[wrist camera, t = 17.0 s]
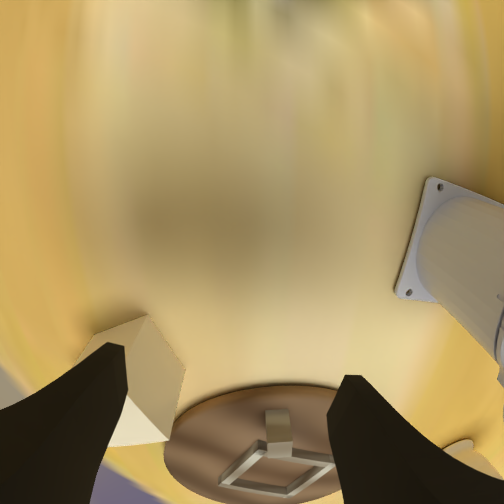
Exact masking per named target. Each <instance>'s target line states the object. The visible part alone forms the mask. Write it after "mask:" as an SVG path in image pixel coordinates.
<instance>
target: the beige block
mask: <svg viewBox="0 0 504 504" xmlns="http://www.w3.org/2000/svg"><path fill="white" fill-rule="evenodd" d="M106 342H110V343H115V344H119V345H123V346H124V347H125V361H126V372H127V382H128V393H127V396H126V400H125V403H124V407H123V410H122V414H121V416H120V419H119V421H118V423H117V426H116V428H115V430H114V433H113V435H112V437H111V440H110V442H109V444H108V447H117V446H128V445H138V444H147V443H155V442H162V441H169V440H170V435H171V430H172V426H173V421H174V417H175V413H176V408H177V404H178V400H179V395H180V391H181V387H182V383H183V378H184V374H185V368H184V367H183V365H182V364H181V363H180V361H179V360H178V358H177V357H176V355H175V354H174V352H173V351H172V350H171V348H170V347H169V345H168V344H167V342H166V341H165V339H164V338H163V336H162V335H161V333H160V332H159V330H158V329H157V327H156V326H155V324H154V322H153V321H152V319H151V318H150V316H149V315H148V314H147V315H145V316H142V317H139V318H137V319H134V320H132V321H129V322H126V323H124V324H121V325H118V326H116V327H113V328H110V329H108V330H105V331H102V332H100V333H97V334H94V336H93V337H92V339H91V340H90V342H89V343H88V344H87V346H86V347H85V349H84V350H83V352H82V353H81V355H80V356H79V358H78V359H77V361H76V362H75V364H74V365H73V367H74V366H76V365H77V364H78V363H80V362H81V361H82V360H84V359H85V358H86V357H88V356H89V355H90V354H91V353H93V352H94V351H95V350H97V349H98V348H99V347H101V346H102V345H103V344H105V343H106ZM73 367H72V368H73ZM72 368H71V369H72Z"/></svg>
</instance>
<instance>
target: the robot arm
mask: <svg viewBox="0 0 504 504" xmlns="http://www.w3.org/2000/svg"><path fill="white" fill-rule="evenodd" d="M439 183H440V189H439V190H438V189H437V186H438V184H439ZM409 289H410V291H409V292H408V293H407V294H406V292H407V290H409ZM394 292H395V295H396V296H397V297H398V298H400V299H409V300H417V301H426V302H435V303H440V304H441V305H442V306H443V307H444V308H445V309H446V310H447V311H448V312H449V313H450V314H451V315H452V316H453V317H454V318H455V319H456V320H457V321H458V322H459V323H460V324H461V325H462V326H463V327H464V328H465V329H466V330H467V331H468V332H469V333H470V334H471V335H472V336H473V337H474V338H475V339H476V341H477V342H478V343H479V344H480V345H481V346H482V347H483V348H484V349H485V350H486V351H487V352H488V353H489V354H490V356H491V357H492V358H493V359H494V360H495V361H496V362H497V363H498V364H499V367H500V371H499V375H498V378H497V380H498V381H499V383H500V384H501V385H502V386H503V387H504V205H503V204H501V203H499V202H497V201H494V200H492V199H490V198H488V197H485V196H483V195H480V194H478V193H476V192H473V191H471V190H468V189H466V188H463V187H460V186H458V185H455V184H453V183H450V182H447V181H444V180H442V179H439V178H436V177H428V179H427V180H426V182H425V186H424V191H423V195H422V199H421V203H420V207H419V211H418V215H417V219H416V223H415V226H414V230H413V233H412V237H411V240H410V244H409V247H408V250H407V254H406V257H405V260H404V263H403V266H402V269H401V272H400V275H399V278H398V281H397V284H396V287H395V291H394ZM127 393H128V382H127V372H126V361H125V347H124V346H123V345H119V344H115V343H110V342H106V343H105V344H103V345H102V346H101V347H99V348H98V349H97V350H95V351H94V352H93V353H91V354H90V355H89V356H88V357H86V358H85V359H84V360H82V361H81V362H80V363H78V364H77V365H76V366H74V367H73V368H72V369H70V370H69V371H67V372H66V373H65V374H63V375H62V376H61V377H59V378H58V379H56V380H55V381H53V382H52V383H50V384H48V385H47V386H45V387H44V388H42V389H41V390H39V391H38V392H36V393H34V394H32V395H31V396H29V397H27V398H25V399H23V400H21V401H19V402H17V403H15V404H13V405H11V406H9V407H6V408H4V409H2V410H0V504H89V503H90V498H91V494H92V490H93V486H94V482H95V478H96V475H97V472H98V469H99V466H100V463H101V461H102V459H103V456H104V454H105V451H106V449H107V447H108V444H109V442H110V440H111V437H112V435H113V433H114V430H115V428H116V426H117V423H118V421H119V419H120V416H121V414H122V410H123V407H124V403H125V400H126V396H127ZM326 417H327V428H328V436H329V442H330V446H331V450H332V454H333V458H334V462H335V466H336V470H337V473H338V477H339V481H340V485H341V489H342V494H343V499H344V504H504V480H501V479H498V478H495V477H492V476H489V475H487V474H485V473H482V472H480V471H478V470H476V469H474V468H472V467H470V466H468V465H466V464H464V463H462V462H461V461H459V460H457V459H455V458H454V457H452V456H451V455H449V454H447V453H446V452H444V451H443V450H442V449H440V448H439V447H438V446H436V445H435V444H433V443H432V442H431V441H429V440H428V439H427V438H426V437H424V436H423V435H422V434H421V433H420V432H419V431H417V430H416V429H415V428H414V427H413V426H412V425H411V424H410V423H409V422H407V421H406V420H405V419H404V418H403V417H402V416H401V415H400V414H399V413H398V412H397V411H396V410H395V409H394V408H393V407H392V406H391V405H390V404H389V403H388V402H387V401H386V400H385V399H384V398H383V397H382V396H381V395H380V394H379V393H378V391H377V390H376V389H375V388H374V387H373V386H372V385H371V384H370V383H369V382H368V381H367V380H366V379H365V378H364V377H362V376H361V375H345V376H344V378H343V381H342V383H341V385H340V387H339V389H338V391H337V393H336V396H335V398H334V400H333V402H332V404H331V406H330V408H329V410H328V412H327V414H326ZM503 420H504V406H503Z"/></svg>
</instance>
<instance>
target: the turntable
mask: <svg viewBox="0 0 504 504" xmlns="http://www.w3.org/2000/svg"><path fill="white" fill-rule="evenodd" d="M336 393H337V391H335V390H331V389H327V388H320V387H312V386H294V385H292V386H270V387H260V388H253V389H247V390H241V391H237V392H233V393H229V394H225V395H221V396H219V397H216V398H213V399H210V400H207V401H205V402H203V403H201V404H199V405H197V406H195V407H193V408H192V409H190V410H188V411H187V412H185V413H184V414H183V415H182V416H180V417H179V418H178V419H177V420H176V421H175V423H174V424H173V426H172V430H171V435H170V440H169V441H166V444H165V449H164V462H165V465H166V467H167V469H168V471H169V472H170V474H171V475H172V476H173V477H174V478H175V479H176V480H177V481H178V482H179V483H180V484H182V485H183V486H184V487H186V488H187V489H189V490H191V491H193V492H194V493H196V494H198V495H201V496H203V497H206V498H208V499H211V500H215V501H218V502H222V503H226V504H299V503H304V502H308V501H312V500H315V499H319V498H321V497H324V496H327V495H330V494H332V493H334V492H336V491H339V490H341V485H340V481H339V477H338V473H337V470H336V466H335V462H334V458H333V454H332V450H331V446H330V442H329V436H328V428H327V417H326V414H327V412H328V410H329V408H330V406H331V404H332V402H333V400H334V398H335V396H336Z"/></svg>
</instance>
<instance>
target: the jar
mask: <svg viewBox="0 0 504 504" xmlns="http://www.w3.org/2000/svg"><path fill="white" fill-rule="evenodd" d="M443 451H444V452H446V453H447V454H449V455H451V456H452V457H454V458H455V459H457V460H459V461H461V462H462V463H464V464H466V465H468V466H470V467H472V468H474V469H476V470H478V471H480V472H482V473H485V474H487V475H489V476H492V477H495V478H498V479H501V480H503V478H502V476H501V475H500V474H499V472H498V471H497V470H496V469H495V468H494V467H493V466H492V465H491V464H490V462H489V461H488V460H487V459H486V458H485V457H484V456H483V455H482V454H480V453H478V452H477V451H473V441H472V440H469V439H465V440H461V441H458V442H456V443H454V444H452V445H450V446H448V447H446V448H444V449H443Z"/></svg>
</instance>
